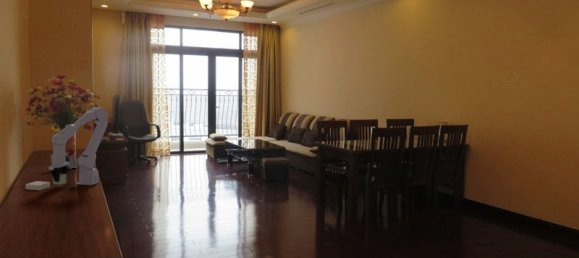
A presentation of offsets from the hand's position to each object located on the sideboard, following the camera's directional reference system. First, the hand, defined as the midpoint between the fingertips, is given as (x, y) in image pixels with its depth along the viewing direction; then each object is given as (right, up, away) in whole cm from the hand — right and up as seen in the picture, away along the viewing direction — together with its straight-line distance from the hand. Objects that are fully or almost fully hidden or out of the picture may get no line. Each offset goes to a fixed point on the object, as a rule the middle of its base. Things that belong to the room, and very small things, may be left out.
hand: (59, 180), depth 231 cm
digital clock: (-22, +1, +45) cm, 50 cm away
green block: (0, -2, 0) cm, 2 cm away
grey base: (-10, -4, -3) cm, 11 cm away
